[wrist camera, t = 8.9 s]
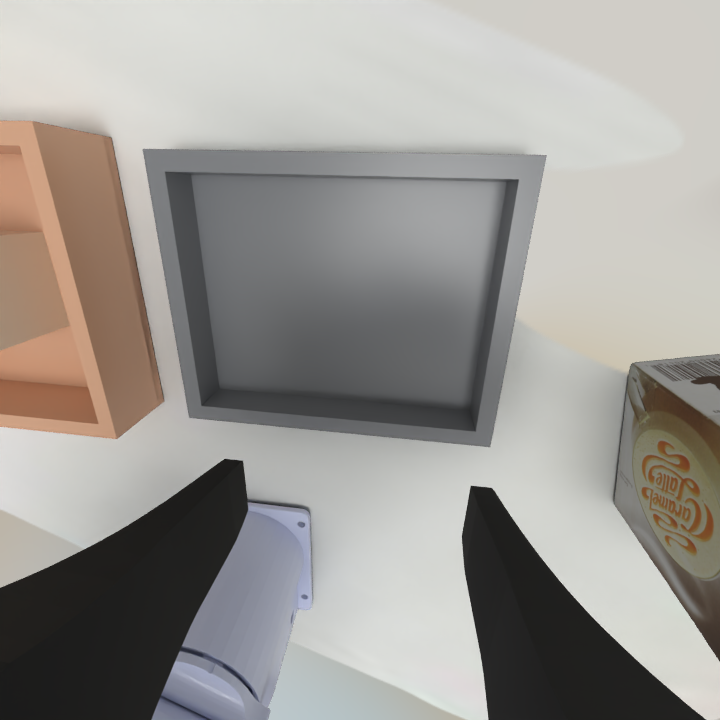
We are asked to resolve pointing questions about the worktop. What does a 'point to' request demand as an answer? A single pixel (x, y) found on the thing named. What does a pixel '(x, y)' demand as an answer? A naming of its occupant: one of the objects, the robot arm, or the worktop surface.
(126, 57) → the worktop surface
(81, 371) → the bin
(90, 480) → the worktop surface
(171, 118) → the worktop surface
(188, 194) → the tray
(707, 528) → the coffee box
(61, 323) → the stone block
